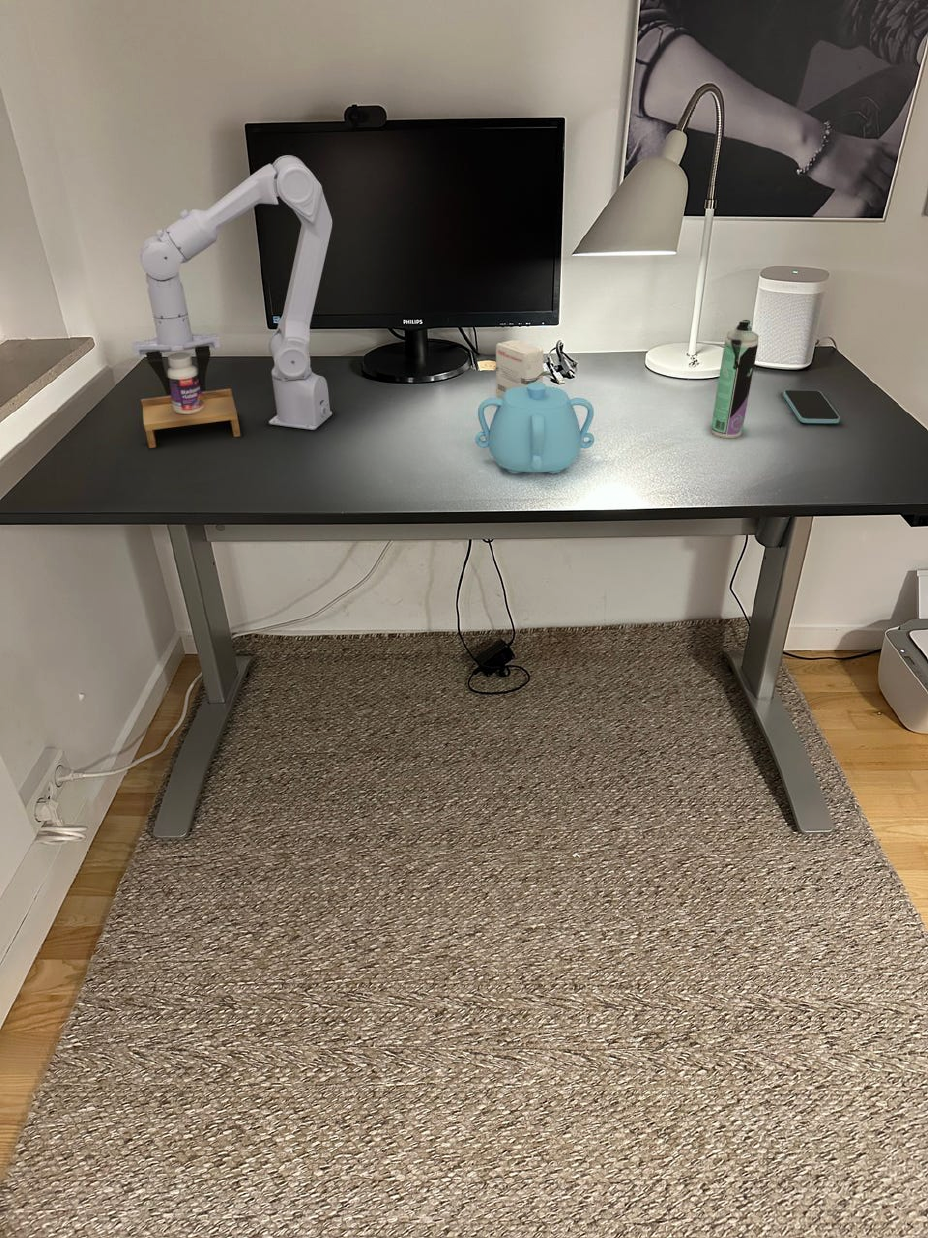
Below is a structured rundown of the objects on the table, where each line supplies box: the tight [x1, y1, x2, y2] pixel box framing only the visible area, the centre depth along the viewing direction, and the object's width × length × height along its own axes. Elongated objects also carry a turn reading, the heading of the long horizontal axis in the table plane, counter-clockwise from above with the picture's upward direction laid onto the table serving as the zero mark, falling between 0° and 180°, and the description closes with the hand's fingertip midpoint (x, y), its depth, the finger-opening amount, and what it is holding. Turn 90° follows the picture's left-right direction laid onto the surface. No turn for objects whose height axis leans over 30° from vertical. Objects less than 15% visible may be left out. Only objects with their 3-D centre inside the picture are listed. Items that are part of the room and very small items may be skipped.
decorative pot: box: [474, 382, 595, 474], centre depth 151 cm, size 16×16×14 cm
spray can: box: [710, 319, 760, 439], centre depth 158 cm, size 6×6×20 cm
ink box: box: [495, 339, 544, 399], centre depth 170 cm, size 9×5×12 cm, turn 39°
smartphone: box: [782, 389, 841, 424], centre depth 171 cm, size 7×1×15 cm
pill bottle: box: [166, 351, 204, 414], centre depth 160 cm, size 5×5×10 cm
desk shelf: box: [140, 388, 241, 449], centre depth 164 cm, size 16×9×6 cm, turn 107°
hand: (185, 390), depth 161 cm, fingers closed on pill bottle, 5 cm apart
